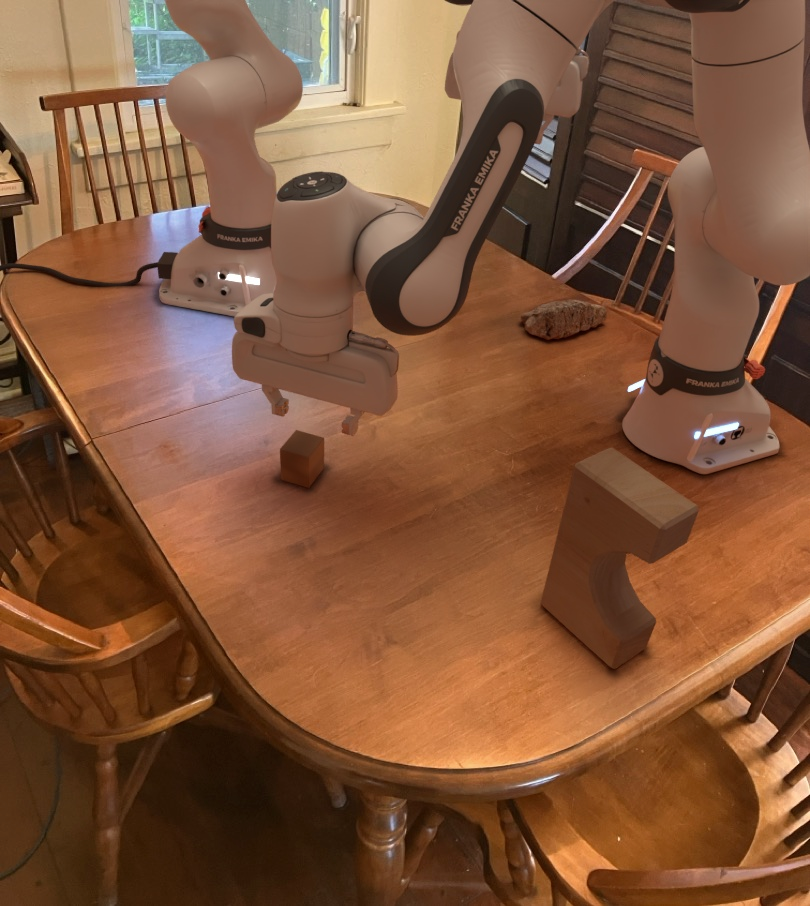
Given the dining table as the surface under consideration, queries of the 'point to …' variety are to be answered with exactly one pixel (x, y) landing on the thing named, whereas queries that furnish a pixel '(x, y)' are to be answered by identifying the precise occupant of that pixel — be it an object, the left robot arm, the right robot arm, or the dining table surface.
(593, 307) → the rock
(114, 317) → the dining table surface
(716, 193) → the right robot arm
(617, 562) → the decorative block
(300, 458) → the cube
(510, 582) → the dining table surface
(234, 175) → the left robot arm
